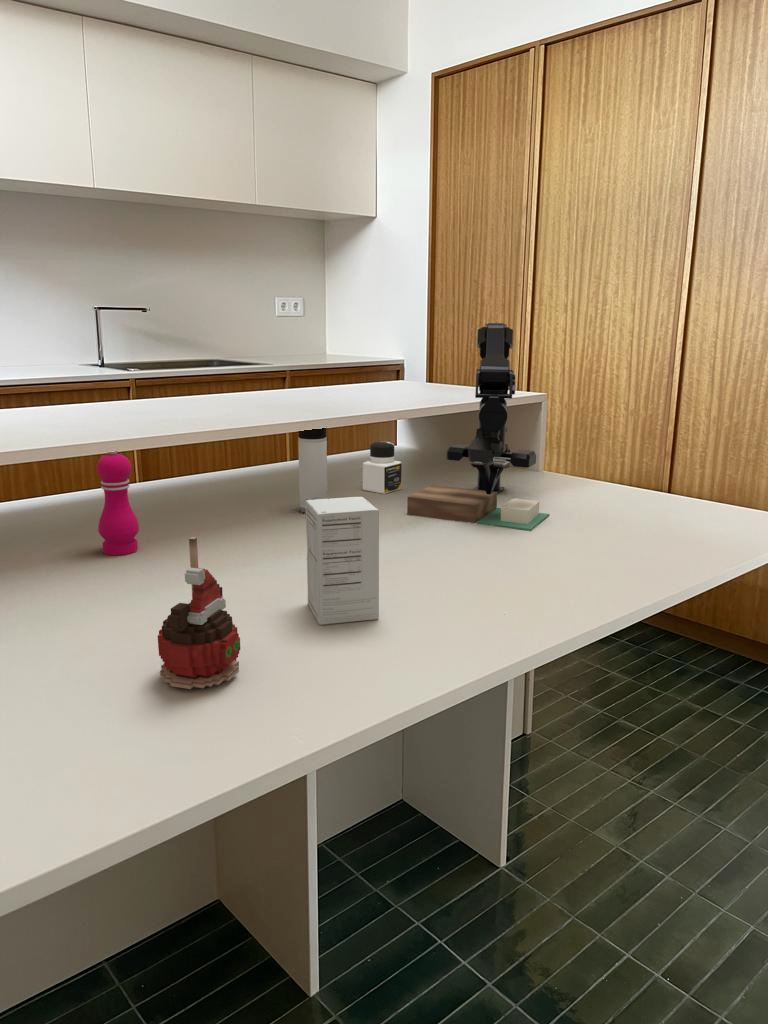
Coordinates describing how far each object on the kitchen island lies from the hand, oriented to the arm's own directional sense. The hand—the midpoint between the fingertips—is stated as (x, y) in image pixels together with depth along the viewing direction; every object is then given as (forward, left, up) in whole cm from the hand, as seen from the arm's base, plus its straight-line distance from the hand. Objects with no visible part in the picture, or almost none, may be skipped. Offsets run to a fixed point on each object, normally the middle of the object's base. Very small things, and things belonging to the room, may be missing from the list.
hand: (489, 494), depth 174 cm
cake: (+91, -5, -5) cm, 91 cm away
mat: (0, +6, -5) cm, 8 cm away
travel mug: (+14, -36, -5) cm, 39 cm away
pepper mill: (+57, -52, -5) cm, 78 cm away
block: (-1, +7, -2) cm, 7 cm away
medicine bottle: (-12, -32, -5) cm, 35 cm away
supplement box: (+64, 0, -5) cm, 64 cm away
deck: (0, -8, -5) cm, 10 cm away
